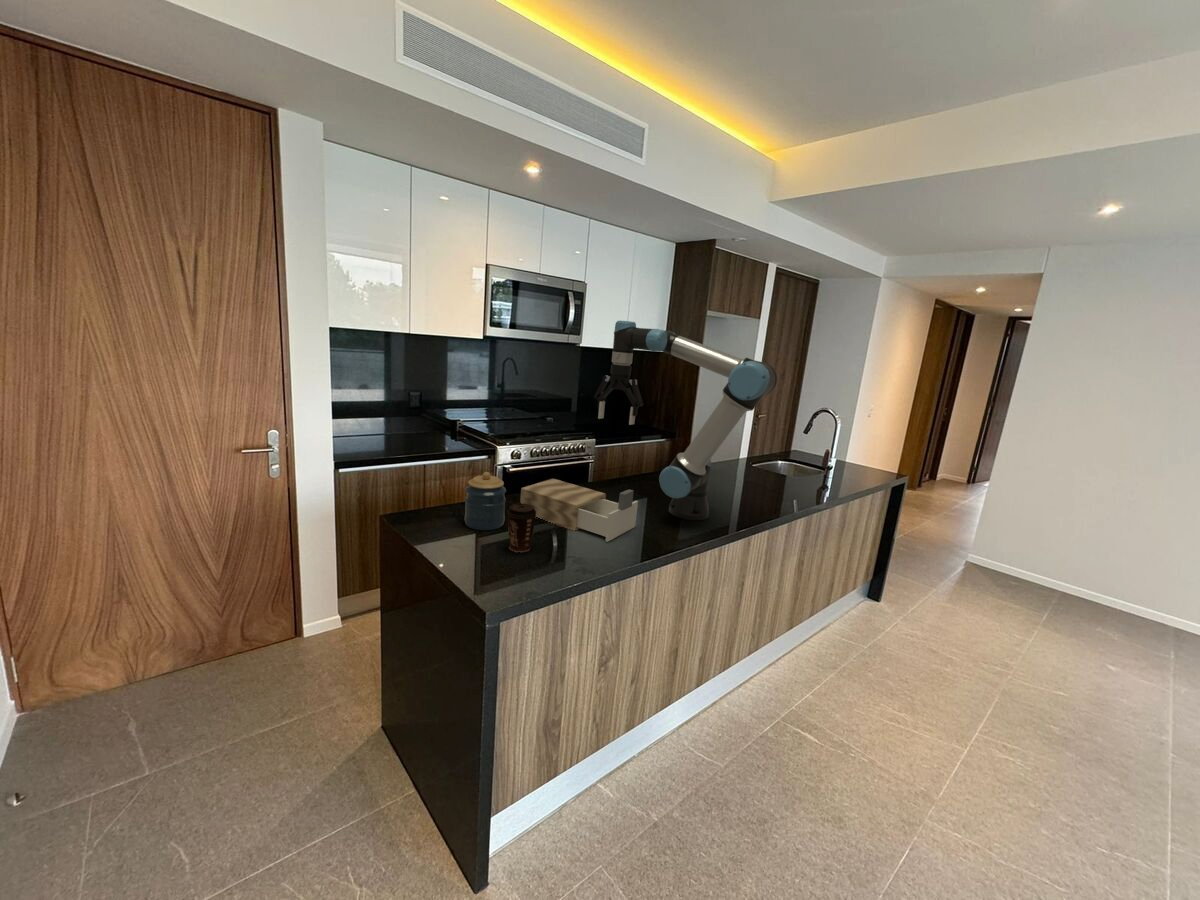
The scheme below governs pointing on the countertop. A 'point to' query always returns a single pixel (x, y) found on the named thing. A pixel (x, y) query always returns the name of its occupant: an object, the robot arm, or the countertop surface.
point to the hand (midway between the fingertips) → (615, 421)
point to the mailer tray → (608, 516)
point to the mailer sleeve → (558, 501)
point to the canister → (485, 503)
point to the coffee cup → (521, 526)
